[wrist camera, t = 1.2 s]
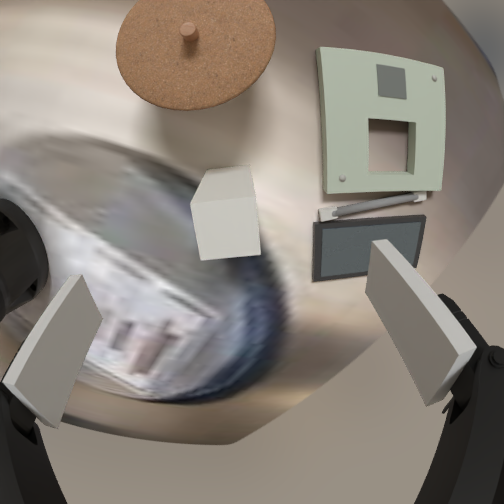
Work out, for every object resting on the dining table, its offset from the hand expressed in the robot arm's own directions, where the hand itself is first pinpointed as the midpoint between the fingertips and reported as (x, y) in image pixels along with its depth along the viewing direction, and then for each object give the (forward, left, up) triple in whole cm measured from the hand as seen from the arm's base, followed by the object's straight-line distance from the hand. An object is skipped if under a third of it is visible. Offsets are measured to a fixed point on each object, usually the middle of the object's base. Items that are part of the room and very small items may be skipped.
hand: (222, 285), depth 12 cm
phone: (+15, -8, -17) cm, 24 cm away
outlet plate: (+16, +6, -17) cm, 24 cm away
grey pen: (+15, -3, -17) cm, 22 cm away
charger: (0, 0, -17) cm, 17 cm away
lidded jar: (-1, +13, -17) cm, 21 cm away
